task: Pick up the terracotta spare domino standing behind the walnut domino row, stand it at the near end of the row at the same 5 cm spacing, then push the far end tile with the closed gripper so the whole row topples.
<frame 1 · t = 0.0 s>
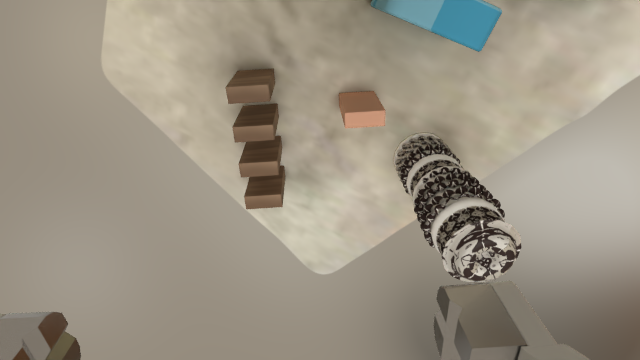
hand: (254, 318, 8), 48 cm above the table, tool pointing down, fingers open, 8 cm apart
domino 4: (256, 77, 53), on the table
data package: (416, 4, 50), on the table
domino 3: (261, 111, 56), on the table
decorative candle: (419, 156, 60), on the table
domino 1: (268, 172, 60), on the table
domino 2: (265, 143, 58), on the table
spare domino: (356, 98, 55), on the table
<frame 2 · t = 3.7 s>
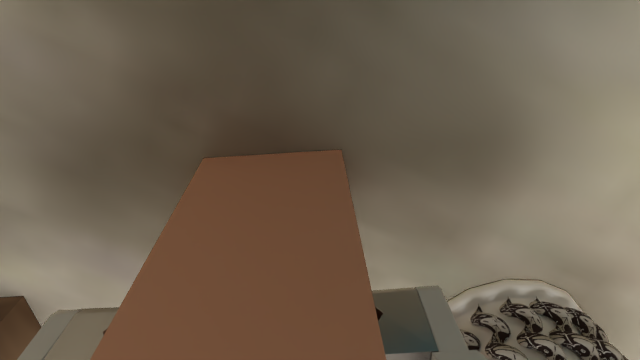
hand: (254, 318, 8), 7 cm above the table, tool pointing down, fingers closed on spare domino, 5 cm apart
decorative candle: (494, 338, 19), on the table
spare domino: (275, 178, 14), on the table, touching gripper
when the fingers open (8 cm above the table, at t = 9.3 s): spare domino stays where it is, on the table.
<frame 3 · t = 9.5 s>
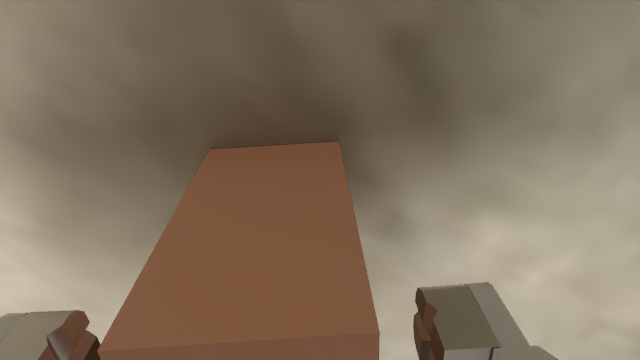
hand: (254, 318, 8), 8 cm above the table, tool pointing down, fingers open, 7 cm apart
spare domino: (277, 168, 15), on the table
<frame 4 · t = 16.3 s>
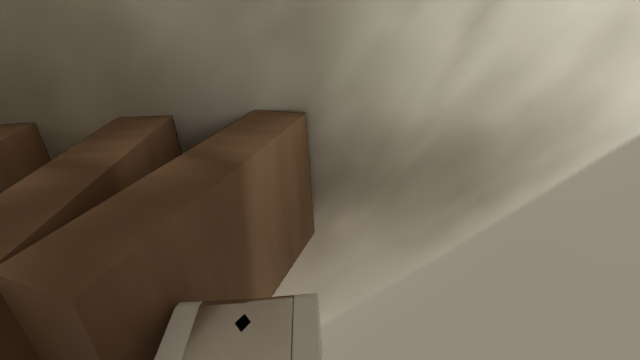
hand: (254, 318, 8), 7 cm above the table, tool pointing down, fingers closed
domino 3: (34, 184, 15), on the table
domino 1: (286, 174, 15), on the table, tilted 23°
domino 2: (161, 178, 15), on the table
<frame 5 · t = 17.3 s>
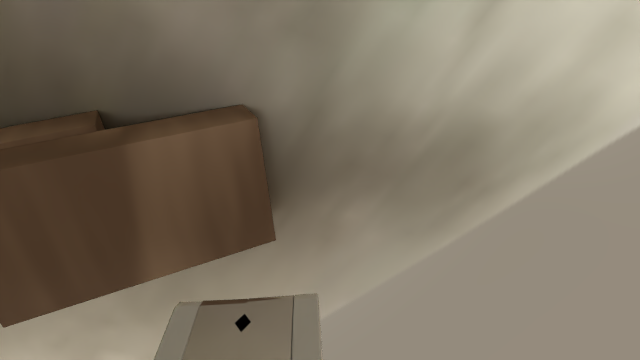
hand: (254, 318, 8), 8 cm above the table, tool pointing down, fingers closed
domino 1: (259, 173, 15), point 1 cm above the table, tilted 67°, touching domino 2
domino 2: (119, 179, 15), point 1 cm above the table, tilted 66°, touching domino 1, domino 3
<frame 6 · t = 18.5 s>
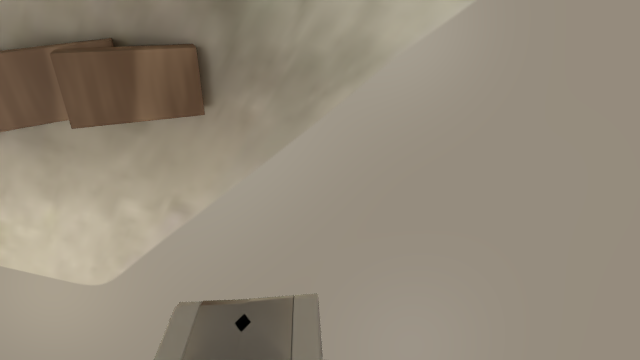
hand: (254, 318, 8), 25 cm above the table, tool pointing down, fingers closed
domino 1: (198, 79, 29), point 1 cm above the table, tilted 68°, touching domino 2
domino 2: (121, 73, 29), point 1 cm above the table, tilted 68°, touching domino 1, domino 3
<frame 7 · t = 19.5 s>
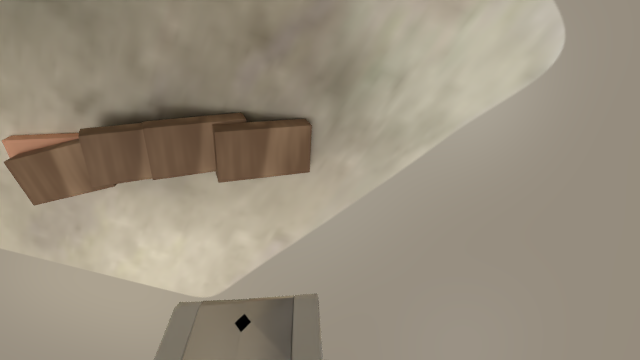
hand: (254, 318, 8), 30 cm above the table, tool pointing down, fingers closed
domino 4: (107, 159, 37), point 2 cm above the table, tilted 90°, touching domino 3, spare domino
domino 3: (188, 145, 38), point 1 cm above the table, tilted 65°, touching domino 2, domino 4
domino 1: (307, 145, 38), point 1 cm above the table, tilted 70°, touching domino 2
domino 2: (245, 139, 38), point 1 cm above the table, tilted 68°, touching domino 1, domino 3
spare domino: (104, 155, 39), on the table, tilted 90°, touching domino 4
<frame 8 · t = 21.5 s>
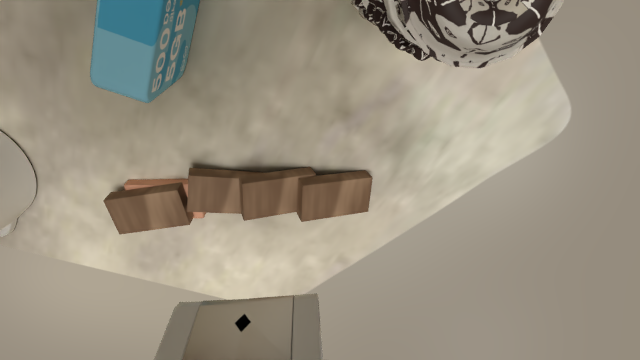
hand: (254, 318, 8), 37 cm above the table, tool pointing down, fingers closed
domino 4: (185, 203, 47), point 2 cm above the table, tilted 90°, touching domino 3, spare domino
data package: (174, 12, 39), on the table
domino 3: (262, 193, 48), point 1 cm above the table, tilted 79°, touching domino 2, domino 4
domino 1: (366, 191, 49), point 1 cm above the table, tilted 73°, touching domino 2
domino 2: (312, 187, 48), point 1 cm above the table, tilted 70°, touching domino 1, domino 3
spare domino: (202, 197, 49), on the table, tilted 90°, touching domino 4
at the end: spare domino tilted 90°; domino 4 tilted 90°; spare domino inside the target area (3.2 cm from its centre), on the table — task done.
